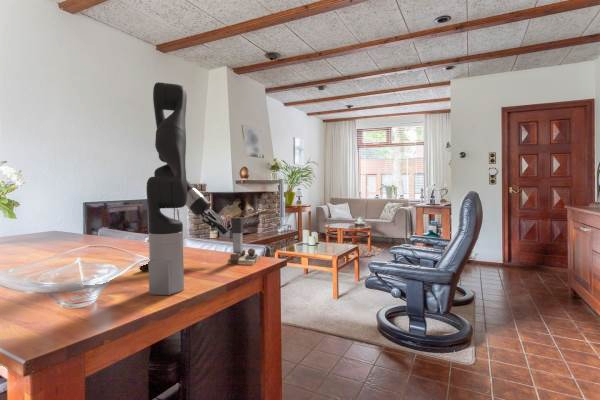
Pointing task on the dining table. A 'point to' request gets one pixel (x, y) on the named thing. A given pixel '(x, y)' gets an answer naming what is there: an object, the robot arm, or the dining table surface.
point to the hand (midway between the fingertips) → (226, 232)
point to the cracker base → (244, 258)
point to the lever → (237, 235)
